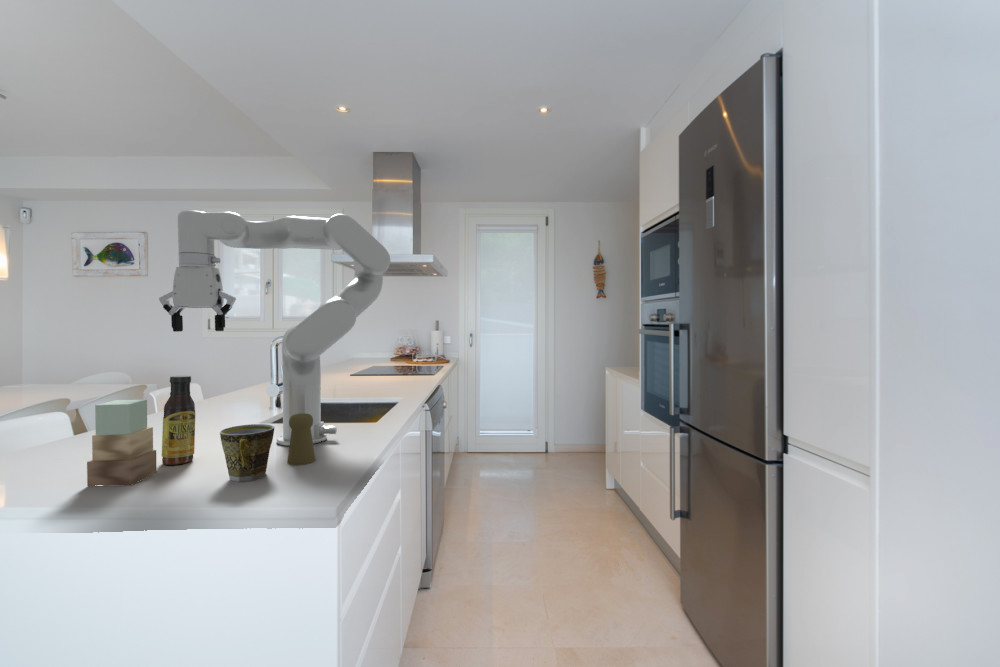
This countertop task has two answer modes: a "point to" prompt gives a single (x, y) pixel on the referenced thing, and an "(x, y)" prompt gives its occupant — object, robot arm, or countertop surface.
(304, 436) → the cork
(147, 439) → the oak block
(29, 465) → the countertop surface
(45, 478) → the countertop surface
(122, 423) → the sage block
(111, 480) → the walnut block
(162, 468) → the countertop surface
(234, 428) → the ceramic cup
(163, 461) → the sauce bottle
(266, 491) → the countertop surface
